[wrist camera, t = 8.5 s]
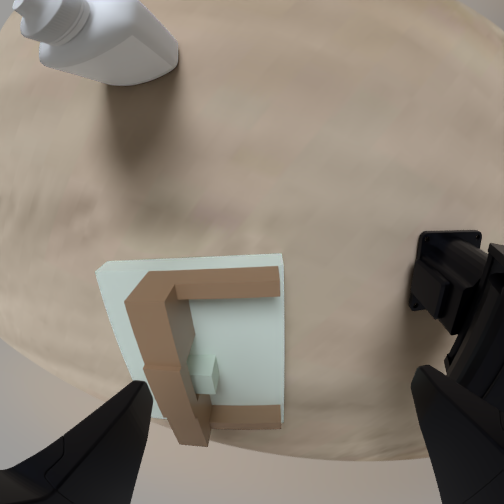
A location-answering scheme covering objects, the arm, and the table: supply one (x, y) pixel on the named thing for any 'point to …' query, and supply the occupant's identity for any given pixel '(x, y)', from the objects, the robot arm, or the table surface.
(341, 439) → the table surface
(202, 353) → the stand
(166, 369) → the brown c-shaped bracket
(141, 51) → the eye dropper bottle
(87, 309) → the table surface
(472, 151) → the table surface
